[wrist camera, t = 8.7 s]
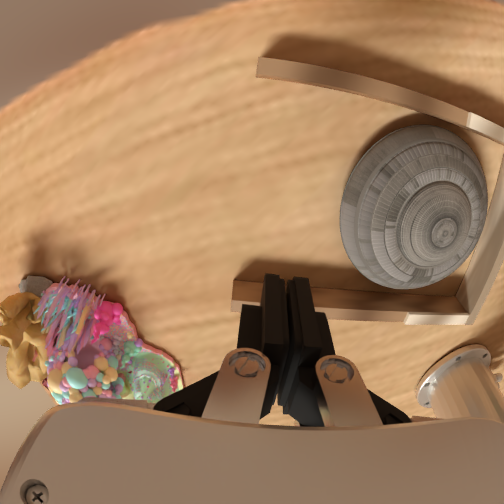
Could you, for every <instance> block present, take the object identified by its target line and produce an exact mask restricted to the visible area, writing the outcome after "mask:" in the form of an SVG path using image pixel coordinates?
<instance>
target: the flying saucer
mask: <svg viewBox="0 0 504 504" xmlns="http://www.w3.org/2000/svg"><path fill="white" fill-rule="evenodd" d="M487 206H488V194H487V185H486V180H485V176H484V173H483V170H482V167H481V165H480V163H479V161H478V159H477V157H476V155H475V153H474V152H473V151H472V149H471V148H470V147H469V146H468V144H467V143H466V142H465V141H464V140H462V139H461V138H460V137H459V136H457V135H456V134H454V133H453V132H451V131H449V130H447V129H444V128H441V127H438V126H433V125H413V126H408V127H404V128H401V129H399V130H396V131H394V132H392V133H390V134H388V135H386V136H385V137H383V138H382V139H380V140H379V141H378V142H376V143H375V144H374V145H373V146H372V147H371V148H370V149H369V150H368V151H367V152H366V153H365V154H364V155H363V157H362V158H361V159H360V160H359V162H358V163H357V165H356V166H355V168H354V170H353V171H352V173H351V175H350V177H349V180H348V182H347V184H346V187H345V190H344V193H343V197H342V202H341V208H340V232H341V237H342V242H343V245H344V248H345V251H346V253H347V255H348V257H349V259H350V260H351V262H352V263H353V265H354V266H355V267H356V268H357V270H358V271H359V272H360V273H361V274H363V275H364V276H365V277H366V278H368V279H369V280H371V281H373V282H375V283H377V284H379V285H382V286H385V287H389V288H394V289H415V288H420V287H424V286H428V285H431V284H433V283H436V282H438V281H440V280H442V279H444V278H445V277H447V276H448V275H450V274H451V273H452V272H454V271H455V270H456V269H457V268H458V267H459V266H460V265H461V264H462V263H463V262H464V261H465V260H466V259H467V258H468V256H469V255H470V254H471V252H472V251H473V249H474V248H475V246H476V244H477V242H478V240H479V238H480V236H481V233H482V231H483V228H484V224H485V220H486V215H487Z"/></svg>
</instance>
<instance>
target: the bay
mask: <svg viewBox="0 0 504 504" xmlns="http://www.w3.org/2000/svg"><path fill="white" fill-rule="evenodd" d="M256 77H259V78H267V79H275V80H282V81H289V82H296V83H302V84H308V85H313V86H319V87H324V88H329V89H334V90H339V91H344V92H348V93H352V94H357V95H361V96H365V97H369V98H373V99H377V100H380V101H384V102H388V103H391V104H395V105H398V106H402V107H405V108H408V109H411V110H415V111H418V112H421V113H424V114H427V115H430V116H433V117H435V118H438V119H441V120H444V121H447V122H449V123H452V124H455V125H457V126H460V127H462V128H465V129H467V130H470V131H472V132H475V133H477V134H479V135H482V136H484V137H486V138H488V139H491V140H493V141H495V142H497V143H499V144H502V145H504V128H503V127H501V126H499V125H497V124H495V123H493V122H491V121H489V120H487V119H484V118H482V117H480V116H478V115H476V114H474V113H471V112H467V111H465V110H463V109H460V108H458V107H456V106H453V105H451V104H448V103H446V102H443V101H441V100H438V99H435V98H433V97H430V96H427V95H424V94H421V93H419V92H416V91H413V90H410V89H407V88H404V87H400V86H397V85H394V84H391V83H387V82H384V81H380V80H377V79H373V78H369V77H366V76H362V75H358V74H354V73H350V72H345V71H341V70H336V69H332V68H327V67H322V66H317V65H311V64H306V63H300V62H294V61H287V60H280V59H273V58H265V57H258V65H257V73H256ZM503 260H504V155H503V159H502V164H501V168H500V172H499V176H498V180H497V184H496V187H495V191H494V195H493V198H492V201H491V205H490V208H489V211H488V214H487V217H486V220H485V224H484V228H483V231H482V233H481V236H480V238H479V241H478V243H477V246H476V249H475V251H474V254H473V256H472V259H471V261H470V264H469V266H468V269H467V271H466V273H465V276H464V278H463V280H462V283H461V285H460V287H459V289H458V292H457V294H456V296H455V297H452V296H433V295H415V294H399V293H383V292H369V291H355V290H342V289H329V288H316V287H310V289H311V293H312V298H313V303H314V308H315V312H324V313H325V314H326V317H327V319H335V320H356V321H385V322H404V324H405V325H461V324H465V325H473V323H474V321H475V319H476V317H477V316H478V314H479V312H480V310H481V308H482V306H483V304H484V302H485V300H486V298H487V296H488V294H489V292H490V290H491V287H492V285H493V283H494V281H495V279H496V277H497V274H498V272H499V270H500V267H501V265H502V263H503ZM286 286H287V285H285V292H286ZM262 289H263V283H260V282H249V281H239V280H234V281H233V291H232V301H231V312H240V313H241V309H242V304H248V305H257V306H260V302H261V295H262Z"/></svg>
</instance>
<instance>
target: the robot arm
mask: <svg viewBox="0 0 504 504" xmlns="http://www.w3.org/2000/svg"><path fill="white" fill-rule="evenodd" d="M490 362H491V355H490V352H489V351H488V349H487V348H486V347H485V346H483V345H479V344H474V345H468V346H465V347H462V348H460V349H457V350H455V351H454V352H452V353H450V354H448V355H447V356H445V357H444V358H442V359H441V360H440V361H438V362H437V363H436V364H435V365H434V366H433V367H432V368H430V369H429V370H428V372H427V373H426V374H425V375H424V376H423V378H422V379H421V380H420V382H419V384H418V386H417V389H416V398H417V401H418V403H419V404H420V405H421V406H423V407H427V408H432V409H433V411H434V413H435V416H436V418H430V417H420V416H412V418H409V417H408V416H407V415H406V414H405V413H404V412H402V411H401V410H399V409H397V408H396V407H394V406H393V405H391V404H390V403H388V402H387V401H385V400H383V399H382V398H380V397H379V396H377V395H376V394H374V393H373V392H371V391H370V390H368V389H367V388H366V386H365V384H364V382H363V379H362V377H361V375H360V373H359V371H358V369H357V367H356V366H355V364H354V363H353V362H351V361H350V360H349V359H347V358H345V357H342V356H338V355H335V350H334V346H333V342H332V337H331V333H330V329H329V325H328V321H327V317H326V314H325V313H324V312H315V308H314V303H313V298H312V293H311V289H310V284H309V280H308V278H302V277H293V280H288V282H287V286H286V292H285V281H284V279H280V278H279V275H276V274H267V273H265V276H264V283H263V289H262V295H261V302H260V306H257V305H248V304H242V309H241V317H240V326H239V334H238V343H237V349H235V350H232V351H231V352H229V353H228V354H227V355H226V356H225V358H224V360H223V363H222V365H221V368H220V370H219V371H217V372H215V373H213V374H211V375H210V376H208V377H206V378H204V379H202V380H200V381H198V382H196V383H194V384H192V385H189V386H187V387H185V388H183V389H181V390H179V391H177V392H175V393H173V394H171V395H169V396H167V397H164V398H163V399H161V400H160V401H158V402H157V403H148V402H147V400H134V399H113V398H98V397H87V398H83V399H81V400H79V401H78V402H72V403H66V404H61V405H58V406H55V407H53V408H51V409H50V410H48V411H46V412H45V413H44V414H43V415H42V416H41V417H40V418H39V419H38V420H37V422H36V423H35V424H34V426H33V427H32V429H31V430H30V431H29V433H28V434H27V436H26V438H25V440H24V441H23V443H22V445H21V447H20V448H19V451H18V452H17V454H16V456H15V458H14V461H13V462H12V464H11V466H10V469H9V471H8V474H7V476H6V478H5V481H4V483H3V486H2V488H1V491H0V504H504V397H503V395H502V393H501V391H500V390H499V383H498V382H500V381H501V380H502V374H501V373H497V374H493V373H492V371H491V370H490V368H489V366H490ZM276 395H277V398H278V405H280V406H283V414H289V415H290V416H292V417H293V418H294V419H295V422H294V425H295V426H279V425H264V424H258V423H259V420H260V419H261V418H263V417H264V416H266V415H267V414H269V413H270V410H271V407H272V405H274V402H275V399H276Z"/></svg>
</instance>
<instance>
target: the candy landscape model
mask: <svg viewBox="0 0 504 504" xmlns="http://www.w3.org/2000/svg"><path fill="white" fill-rule="evenodd" d="M65 278H66V276H64V277H63V278H62V280H61V282H60V283H53V282H52V281H50V280H48V279H47V278H45V277H39V276H28V277H27V279H26V280H21V283H20V284H19V288H20V292H21V293H16V294H15V295H11V296H8V297H7V298H6V299H5V300H4V301H3V302H1V303H0V311H1V313H0V320H1V321H2V326H0V344H1V346H6V347H9V351H8V354H7V361H6V365H7V376H8V379H9V380H10V381H11V382H12V383H13V384H14V385H16V386H17V387H18V388H20V389H21V388H23V387H24V386H26V385H27V384H28V383H29V382H30V381H36V382H41V381H42V380H43V382H42V383H43V385H44V386H45V387H46V388H47V389H49V390H50V392H51V394H52V396H54V398H55V401H56V403H58V404H60V405H61V404H66V403H72V402H78V401H79V400H81V399H83V398H87V397H98V398H113V399H134V400H147V402H148V403H157V402H158V401H160V400H161V399H163V398H164V397H167V396H169V395H171V394H173V393H175V392H177V391H179V390H181V389H183V388H184V385H183V380H182V376H181V371H180V367H179V365H178V364H177V363H175V361H174V359H173V358H172V357H170V356H169V355H168V354H166V353H165V352H163V351H162V350H159V349H155V348H153V347H152V346H150V345H147V344H145V343H144V342H143V341H142V339H140V338H138V335H137V331H136V328H135V325H134V324H133V323H132V322H130V320H129V317H128V314H127V313H126V312H125V311H124V310H123V307H122V305H121V304H120V303H113V302H109V301H103V298H104V297H105V295H106V294H104V295H103V297H102V300H101V299H100V297H101V295H99V296H98V297H97V296H96V295H95V292H96V290H93V291H92V293H89V288H90V286H91V284H89V285H88V287H87V289H86V290H85V292H83V289H84V288H85V287H86V285H85V284H84V286H83V287H82V286H81V287H80V289H79V286H78V285H77V284H78V283H79V282H80V279H79V280H78V281H77V283H75V285H73V284H72V285H70V286H68V285H66V283H67V282H68V281H69V278H68V279H67V281H66V282H65V283H63V280H64V279H65Z"/></svg>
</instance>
